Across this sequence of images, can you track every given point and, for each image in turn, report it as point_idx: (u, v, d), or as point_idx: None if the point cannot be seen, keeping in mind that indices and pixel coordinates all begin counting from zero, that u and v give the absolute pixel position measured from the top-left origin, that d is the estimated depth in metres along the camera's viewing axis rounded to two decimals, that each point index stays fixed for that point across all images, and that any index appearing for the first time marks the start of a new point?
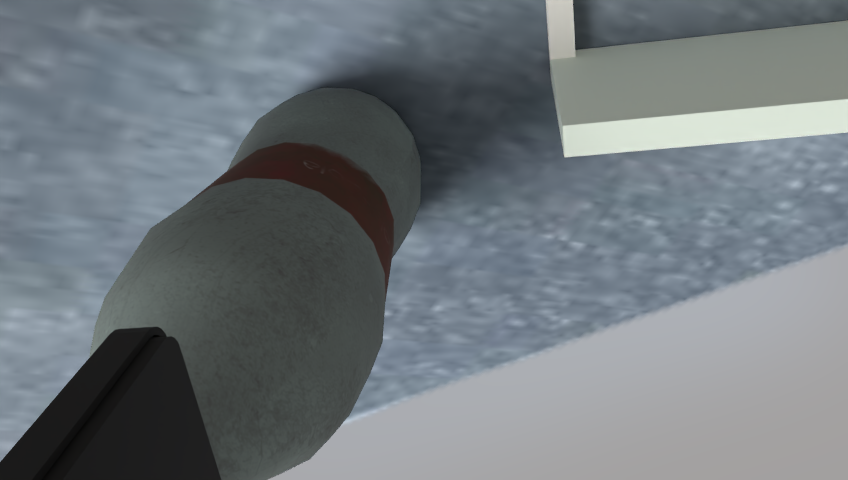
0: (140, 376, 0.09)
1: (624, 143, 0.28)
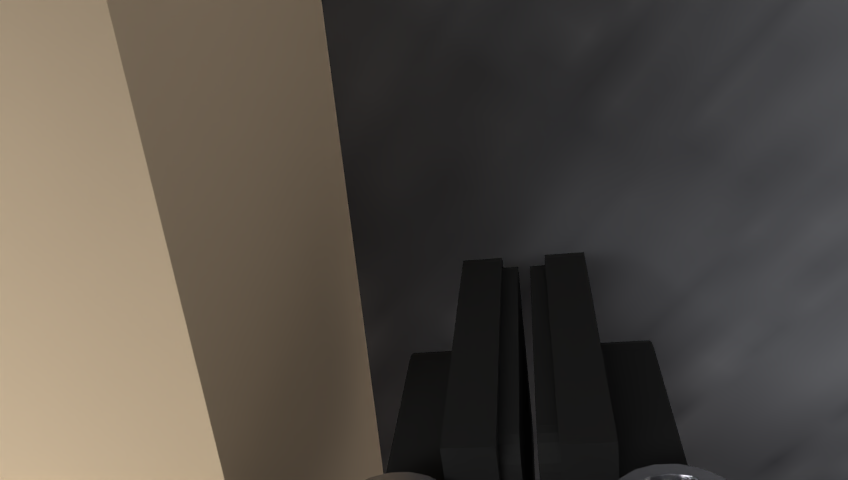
0: (515, 299, 0.10)
1: None
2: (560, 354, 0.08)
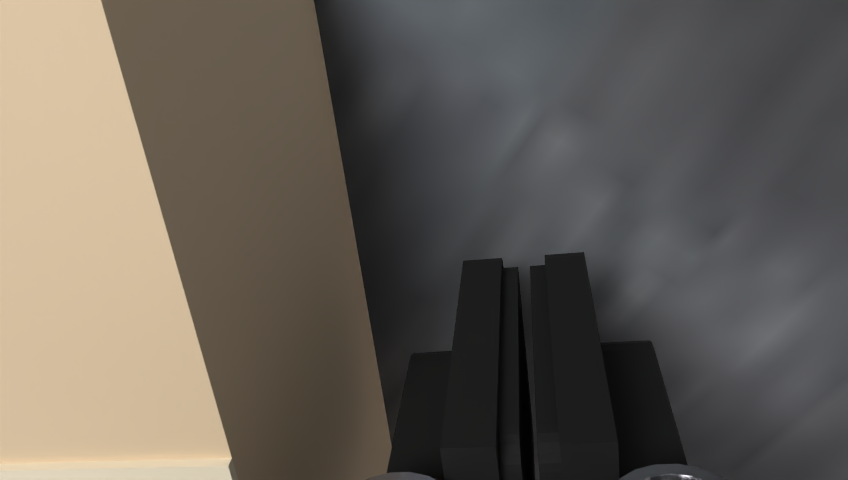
0: (515, 299, 0.10)
1: None
2: (560, 354, 0.08)
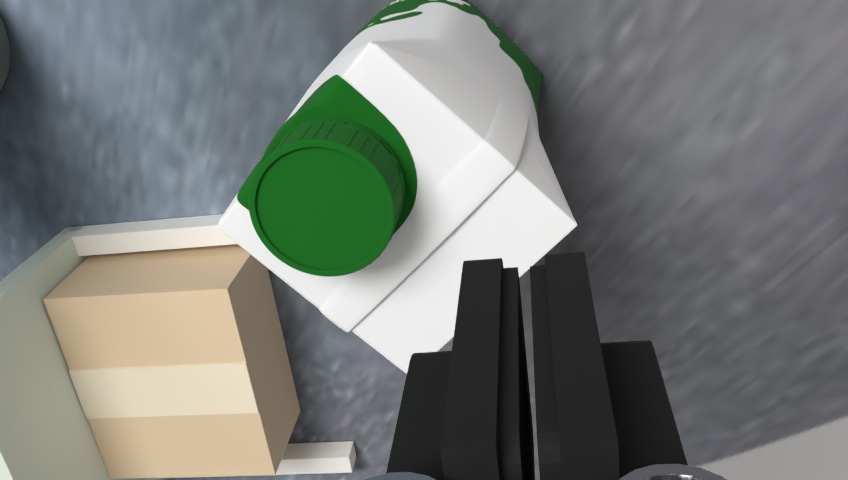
0: (515, 299, 0.10)
1: None
2: (560, 354, 0.08)
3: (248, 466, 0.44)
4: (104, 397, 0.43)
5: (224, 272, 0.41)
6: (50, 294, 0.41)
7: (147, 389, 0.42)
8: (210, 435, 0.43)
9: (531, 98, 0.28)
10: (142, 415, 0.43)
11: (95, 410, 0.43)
